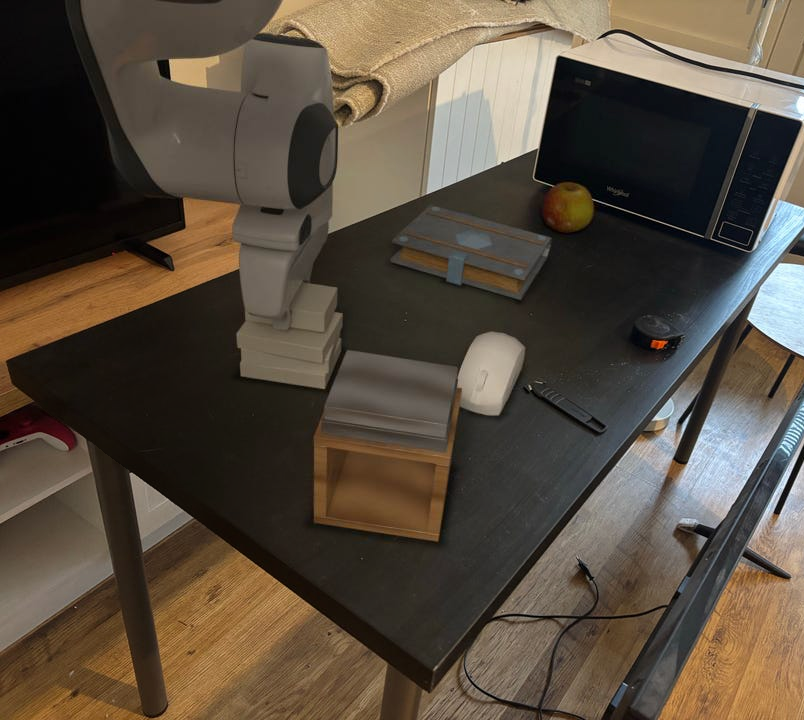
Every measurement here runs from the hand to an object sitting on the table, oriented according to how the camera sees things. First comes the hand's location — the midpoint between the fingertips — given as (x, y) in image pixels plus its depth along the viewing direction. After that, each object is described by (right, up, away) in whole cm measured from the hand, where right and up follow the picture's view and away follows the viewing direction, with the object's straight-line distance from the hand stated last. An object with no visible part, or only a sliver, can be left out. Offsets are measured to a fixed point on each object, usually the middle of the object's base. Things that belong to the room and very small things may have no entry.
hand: (291, 309), depth 85 cm
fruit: (+37, +18, +47) cm, 62 cm away
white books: (-1, -6, +4) cm, 8 cm away
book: (+20, +10, +32) cm, 39 cm away
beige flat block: (0, 0, 0) cm, 1 cm away
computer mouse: (+23, -9, +6) cm, 25 cm away
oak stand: (+12, -19, -11) cm, 25 cm away
